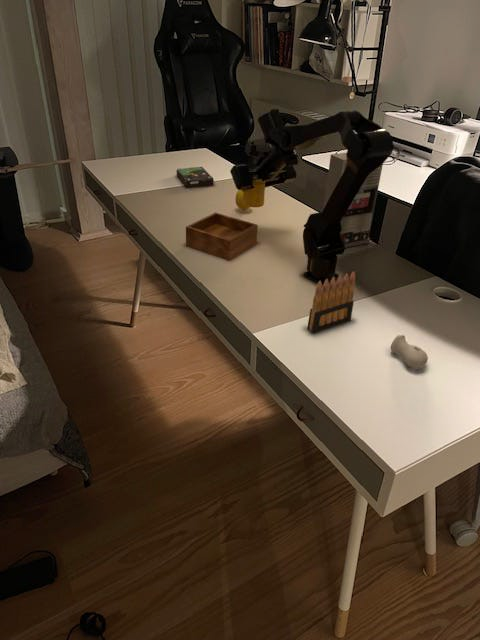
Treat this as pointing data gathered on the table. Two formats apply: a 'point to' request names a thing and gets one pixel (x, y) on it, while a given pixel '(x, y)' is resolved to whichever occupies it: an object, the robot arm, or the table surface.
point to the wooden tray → (221, 235)
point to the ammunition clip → (332, 304)
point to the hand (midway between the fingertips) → (251, 188)
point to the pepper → (255, 195)
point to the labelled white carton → (354, 202)
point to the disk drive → (195, 177)
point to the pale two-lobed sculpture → (409, 352)
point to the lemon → (240, 200)
